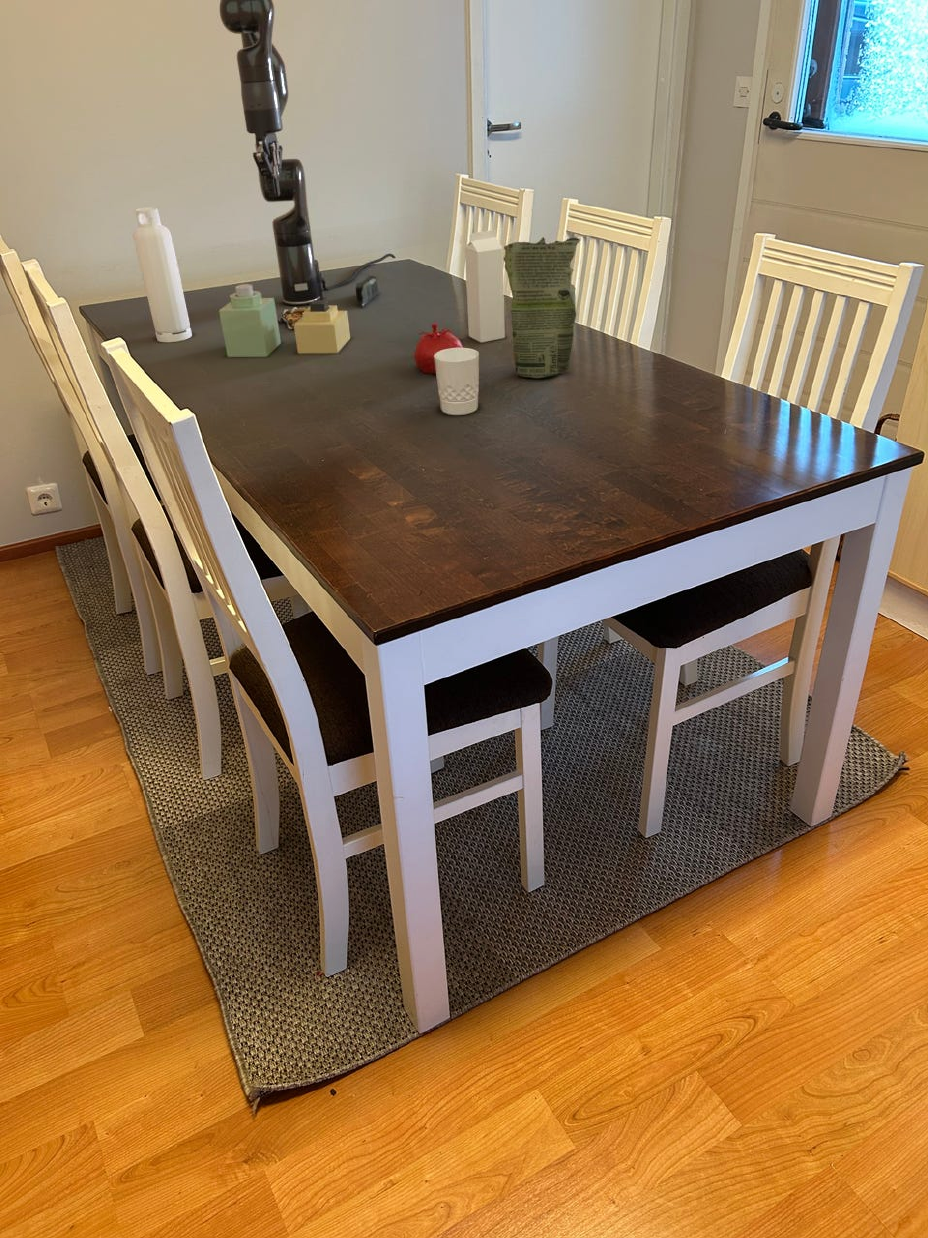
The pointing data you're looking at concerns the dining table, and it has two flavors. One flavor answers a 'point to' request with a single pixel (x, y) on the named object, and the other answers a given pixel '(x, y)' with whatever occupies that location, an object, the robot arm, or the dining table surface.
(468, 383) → the white cup
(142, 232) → the bottle
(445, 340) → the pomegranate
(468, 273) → the milk
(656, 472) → the dining table surface
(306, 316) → the block
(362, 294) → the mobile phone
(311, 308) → the charcoal square push button
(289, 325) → the barbecue chicken platter
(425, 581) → the dining table surface
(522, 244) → the pouch
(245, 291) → the round grey push button
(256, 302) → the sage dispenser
